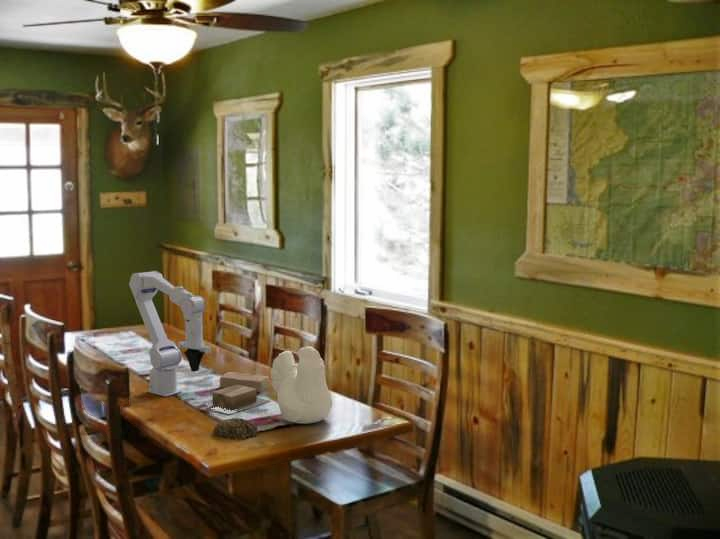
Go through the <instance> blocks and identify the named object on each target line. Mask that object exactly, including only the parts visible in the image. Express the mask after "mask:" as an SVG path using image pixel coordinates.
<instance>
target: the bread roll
mask: <svg viewBox="0 0 720 539" xmlns="http://www.w3.org/2000/svg"><path fill="white" fill-rule="evenodd" d="M212 433H213V435H215V436H217V437H219V438H223V439H226V438H231V439H230V440H236V439H241V440H244V439H246V438H249V437H257V436H258V435H259V434H258V426H257V425H255V424H253V423H252V422H250V421H248V420H246V419H244V418H238V417H232V418H229V419H223V420H222V421H220V422H218V423H217V425H216V426H214V427H213V430H212ZM256 435H257V436H256Z"/></svg>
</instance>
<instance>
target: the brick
mask: <svg viewBox="0 0 720 539" xmlns="http://www.w3.org/2000/svg"><path fill="white" fill-rule="evenodd" d="M237 384H238V385H242V386H246V387H250V388H254V389H257V392H259V393H262V392H264V391H266V390H267V389H268V388H270V378H269V376H267V375H257V374H256V375H255V374H254V375H253V374H251V375H250V374H247V373H240V372H236V371H235V372H234V371H228V372H226V373H224V374H223V375H222V376H220V377H219V386H220V389H224V388H227V387H231V386H234V385H237Z"/></svg>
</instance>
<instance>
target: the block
mask: <svg viewBox="0 0 720 539" xmlns="http://www.w3.org/2000/svg"><path fill="white" fill-rule="evenodd" d="M257 392H258V391H257V389H254V388H250V387H246V386H242V385H238V384H237V385H234V386H231V387H227V388H220V389H217V390H214V391H212V400H211V401H212V405H211V406H214V405H215V406H219V407H222V408H226V409H230V410H233V409H236V408H239V407H242V406H246V405H249V404H252V403H255V402H257V396H258V395H257Z"/></svg>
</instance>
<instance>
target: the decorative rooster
mask: <svg viewBox="0 0 720 539" xmlns="http://www.w3.org/2000/svg"><path fill="white" fill-rule="evenodd" d="M277 355H278V356H277V357H275V358H274V360H273V363H272V365H271V366H272V368H271V370H270V378H271V380H272V382H271V383H272V389H273V391H274V392H275V393H276V395H277V403H278V406H279V411H280V414H281V415H282V417H283V418H284V420H286V421H287V422H290V423H295V424H313V423H318V422H320V421H322V420H324V419H326V417H328V415H329V414H330V412H331V409H332V407H333V401H332V400H333V399H332V397H331V393H330V391H329V387H328V384H327V379H326V366H325V362H324V359H322V357H321V354H320V353H319V351H318V350H317V349H316V348H314V347H312V346H309V345H308V346H304V347H301V348H299V349H298V351H297V357H298V362H297V363H296V361H295V357H294V355H293V353H292V351H290V350H285V351H283V352H281V353H278V354H277Z"/></svg>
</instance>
